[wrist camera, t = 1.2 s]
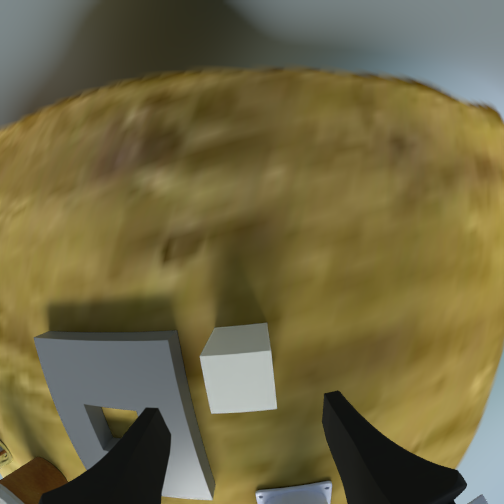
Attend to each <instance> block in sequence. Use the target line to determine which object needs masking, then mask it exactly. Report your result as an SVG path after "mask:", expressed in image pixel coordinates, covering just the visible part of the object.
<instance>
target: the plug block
mask: <svg viewBox="0 0 504 504" xmlns="http://www.w3.org/2000/svg"><path fill="white" fill-rule="evenodd" d="M200 360H201V366H202V371H203V376H204V381H205V386H206V391H207V396H208V400H209V405H210V410H211V414H212V413H236V412H251V411H262V410H272V409H277V403H276V393H275V384H274V374H273V365H272V355H271V347H270V340H269V333H268V326H267V323H259V324H249V325H239V326H229V327H217V328H214V330H213V332H212V334H211V336H210V338H209V340H208V341H207V343H206V345H205V347H204V349H203V351H202V353H201V355H200Z"/></svg>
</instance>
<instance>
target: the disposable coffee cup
mask: <svg viewBox="0 0 504 504" xmlns="http://www.w3.org/2000/svg"><path fill="white" fill-rule="evenodd" d="M66 483H68V482H67V480H66V479H65V477H64V476H63V475H62V473H61V472H60V471H59V470H58V469H57V468H56V467H55V466H53V465H52V464H51V463H50V462H48V461H47V460H45V459H43V458H41V457H36V458H34V459H33V460H31V461H30V462H28V463H27V464H25V465H23V466H22V467H20V468H19V469H17V470H15V471H14V472H12V473H11V474H9V475H7V476H6V477H4V478H3V479H1V480H0V504H38V503H39V500H40V498H41V495H42V493H45V492H48V491H51V490H53V489H55V488H58V487H60V486H62V485H64V484H66Z"/></svg>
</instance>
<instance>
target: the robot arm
mask: <svg viewBox="0 0 504 504" xmlns="http://www.w3.org/2000/svg"><path fill="white" fill-rule="evenodd" d="M322 424H323V428H324V432H325V436H326V440H327V443H328V446H329V448H330V451H331V454H332V456H333V459H334V461H335V464H336V466H337V469H338V472H339V474H340V477H341V480H342V483H343V486H344V490H345V494H346V498H347V503H348V504H456V503H455V502H454V499H455V498H456V497H457V496H458V495H460V494H461V493H462V492H463V491H464V490H465V488H466V486H467V483H466V482H465V480H464V478H463V477H462V475H461V474H460V473H459V472H458V470H455V469H451V468H447V467H444V466H441V465H438V464H435V463H432V462H430V461H427V460H425V459H423V458H421V457H419V456H417V455H415V454H413V453H411V452H409V451H407V450H405V449H404V448H402V447H400V446H399V445H397V444H396V443H394V442H393V441H391V440H390V439H388V438H387V437H386V436H384V435H383V434H382V433H381V432H379V431H378V430H377V429H376V428H375V427H373V426H372V425H371V424H370V423H369V422H368V421H367V420H366V419H365V418H364V417H363V416H361V415H360V414H359V413H358V411H357V410H356V409H355V408H354V407H353V406H352V405H351V404H350V403H349V402H348V401H347V400H346V398H345V397H344V396H343V395H342V394H341V392H339V391H333V392H329V393H324V405H323V417H322ZM170 448H171V433H170V431H169V429H168V427H167V425H166V423H165V421H164V419H163V417H162V415H161V412H160V410H159V408H149V407H146V408H145V409H144V410H143V412H142V413H141V414H140V415H139V417H138V418H137V419H136V420H135V422H134V423H133V424H132V426H131V427H130V428H129V429H128V431H127V432H126V433H125V434H124V435H123V437H122V438H121V439H120V440H119V441H118V442H117V443H116V444H115V446H114V447H113V448H112V449H111V450H110V451H109V452H108V453H107V454H106V455H105V456H104V457H103V458H102V459H101V460H99V461H98V462H97V463H96V464H95V465H94V466H92V467H91V468H90V469H88V470H87V471H85V472H84V473H83V474H81V475H80V476H78V477H77V478H75V479H73V480H72V481H70V482H68V483H66V484H64V485H62V486H60V487H58V488H55V489H53V490H51V491H48V492H45V493H42V495H41V498H40V500H39V503H38V504H161V496H162V489H163V485H164V480H165V475H166V470H167V466H168V461H169V456H170ZM331 491H332V482H331V481H324V482H319V483H314V484H308V485H301V486H294V487H286V488H277V489H266V490H258V491H256V499H257V504H330V501H331ZM468 504H488V503H487V501H486V499H485V498H484V496H483V495H480V496H478V497H477V498H475V499H474V500H473V501H471V502H469V503H468Z"/></svg>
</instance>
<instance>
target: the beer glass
mask: <svg viewBox="0 0 504 504" xmlns="http://www.w3.org/2000/svg"><path fill="white" fill-rule="evenodd" d="M12 461H13V459H12V456H11V454H10V452H9V451H8V449H7V448H6V446H5V445H4V444H3V443H2V442H1V440H0V469H1V468H2V467H3V466H5V465H7V464H9V463H11V462H12Z"/></svg>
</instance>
